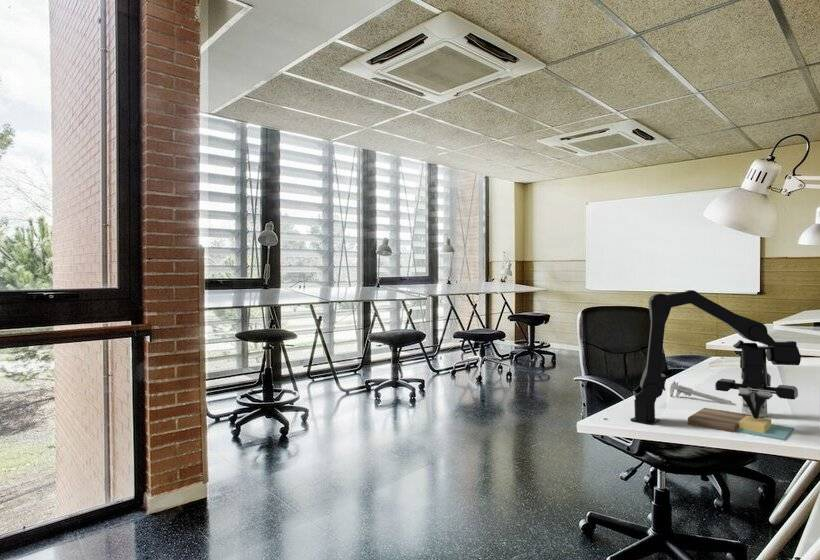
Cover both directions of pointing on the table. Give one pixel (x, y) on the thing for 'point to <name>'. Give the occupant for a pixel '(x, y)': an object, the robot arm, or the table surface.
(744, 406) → the spray can
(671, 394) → the caliper
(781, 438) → the mat
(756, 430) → the tile
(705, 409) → the brown slab
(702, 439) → the table surface
